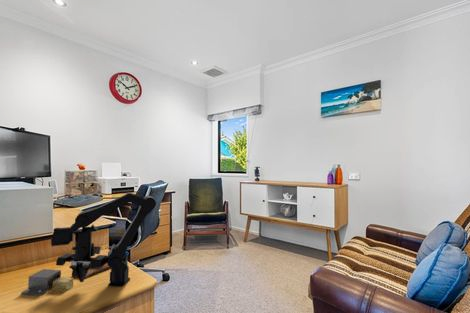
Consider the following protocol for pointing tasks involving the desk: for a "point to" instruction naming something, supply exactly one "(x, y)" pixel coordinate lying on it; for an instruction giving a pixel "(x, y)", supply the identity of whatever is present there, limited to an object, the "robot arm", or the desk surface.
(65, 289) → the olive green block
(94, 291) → the desk surface
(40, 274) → the flanged grey block
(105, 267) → the sunglasses case
